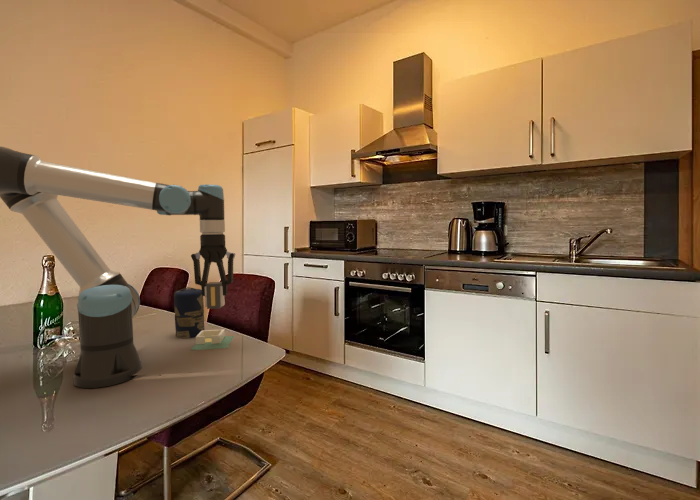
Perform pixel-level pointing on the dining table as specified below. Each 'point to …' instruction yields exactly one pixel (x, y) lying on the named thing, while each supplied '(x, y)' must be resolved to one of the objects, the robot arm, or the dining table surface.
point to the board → (209, 345)
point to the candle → (188, 312)
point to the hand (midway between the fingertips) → (215, 305)
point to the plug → (213, 295)
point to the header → (210, 336)
